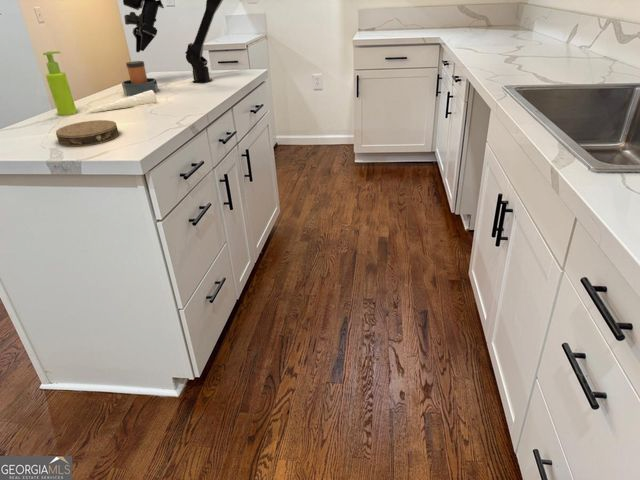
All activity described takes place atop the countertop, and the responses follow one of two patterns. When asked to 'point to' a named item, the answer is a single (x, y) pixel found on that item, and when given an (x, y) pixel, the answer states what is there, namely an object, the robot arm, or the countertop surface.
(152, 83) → the bowl
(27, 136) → the countertop surface
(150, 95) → the unicorn horn
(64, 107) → the soap dispenser
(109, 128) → the round wood slice
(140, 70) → the spice tin
